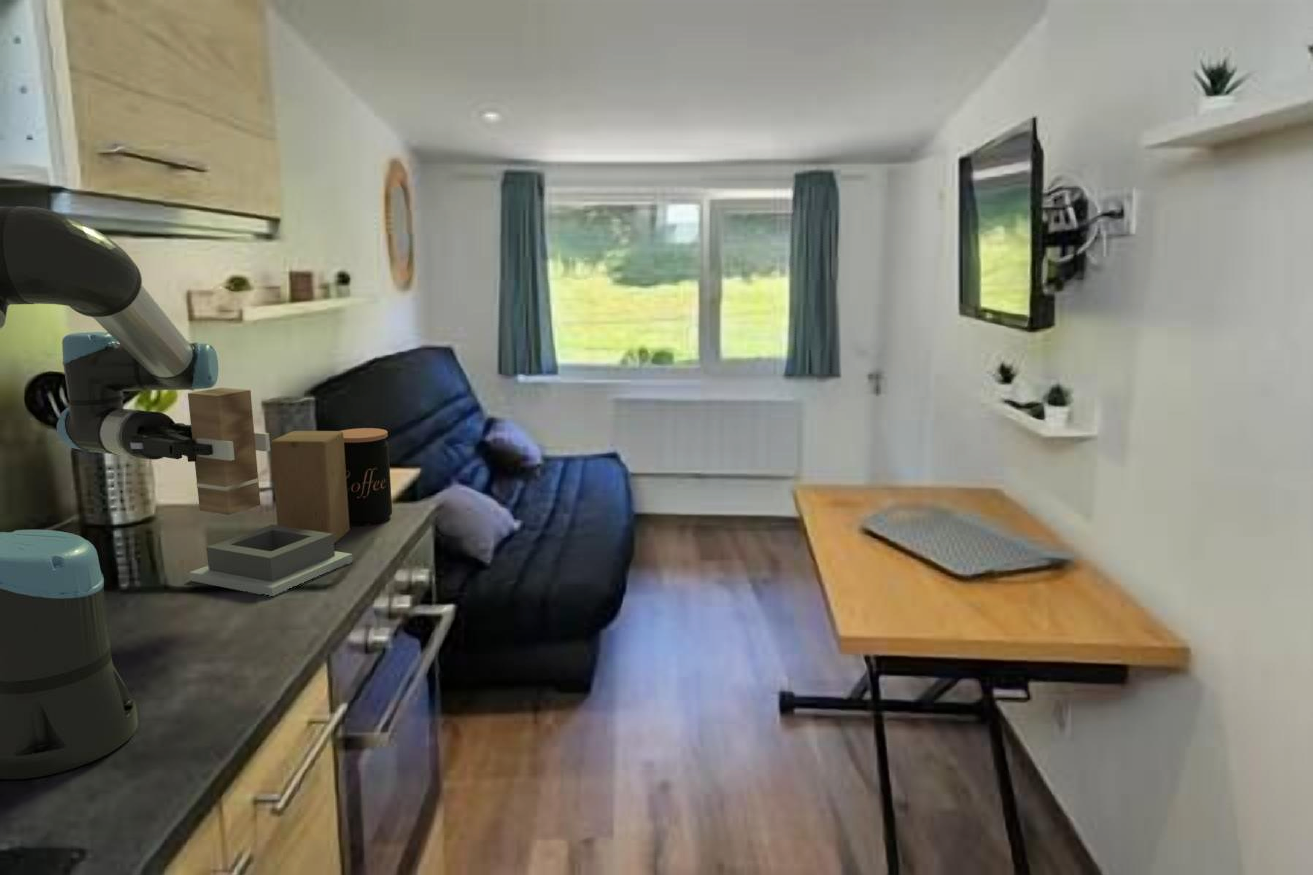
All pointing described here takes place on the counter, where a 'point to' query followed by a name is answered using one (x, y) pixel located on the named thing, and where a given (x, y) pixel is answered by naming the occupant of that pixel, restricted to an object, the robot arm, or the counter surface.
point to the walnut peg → (232, 420)
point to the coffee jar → (367, 476)
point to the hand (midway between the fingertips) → (249, 446)
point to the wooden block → (311, 481)
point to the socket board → (269, 585)
